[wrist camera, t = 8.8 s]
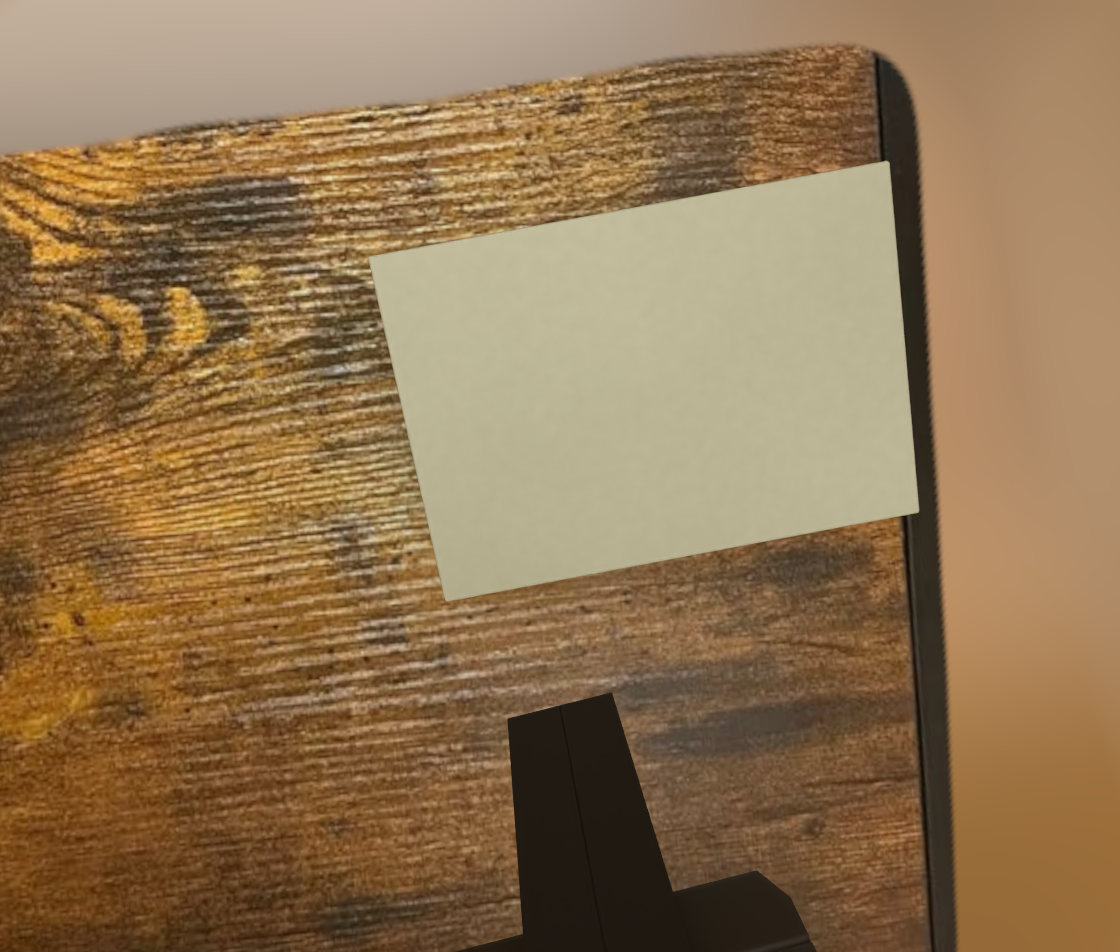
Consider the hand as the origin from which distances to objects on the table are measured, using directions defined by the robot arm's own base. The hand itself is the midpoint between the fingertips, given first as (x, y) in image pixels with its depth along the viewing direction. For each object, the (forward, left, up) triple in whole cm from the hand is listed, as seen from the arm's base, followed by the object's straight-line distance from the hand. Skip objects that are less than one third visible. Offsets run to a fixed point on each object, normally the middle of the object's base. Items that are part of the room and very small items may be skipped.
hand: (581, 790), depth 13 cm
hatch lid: (+2, +4, -14) cm, 15 cm away
